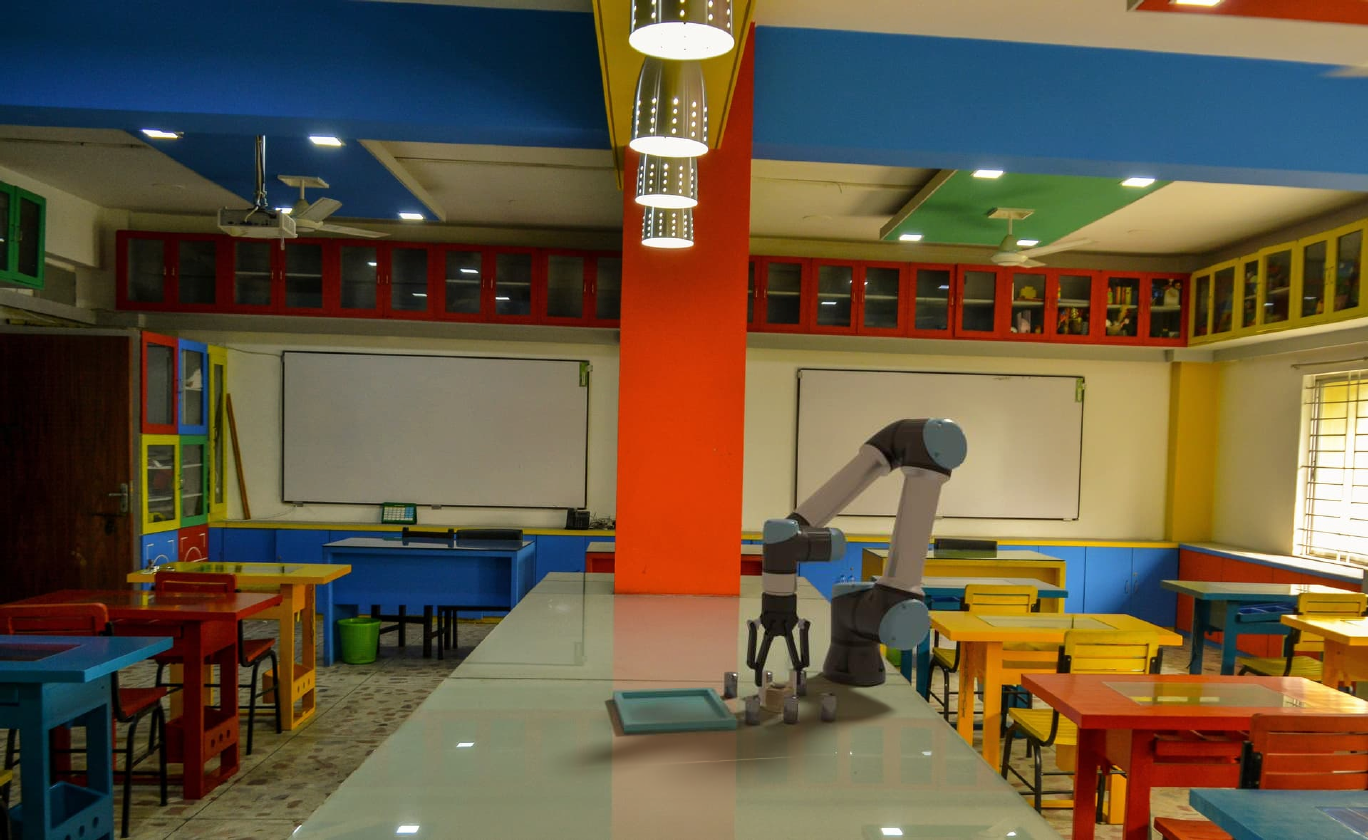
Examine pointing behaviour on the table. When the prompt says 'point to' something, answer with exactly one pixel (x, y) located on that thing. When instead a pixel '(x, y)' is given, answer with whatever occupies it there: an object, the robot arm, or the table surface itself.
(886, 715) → the table surface
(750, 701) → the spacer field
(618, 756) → the table surface
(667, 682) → the table surface
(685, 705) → the tray
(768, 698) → the nut
